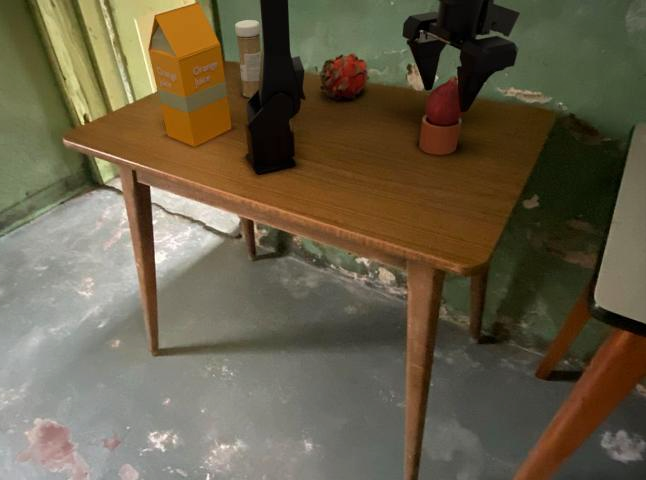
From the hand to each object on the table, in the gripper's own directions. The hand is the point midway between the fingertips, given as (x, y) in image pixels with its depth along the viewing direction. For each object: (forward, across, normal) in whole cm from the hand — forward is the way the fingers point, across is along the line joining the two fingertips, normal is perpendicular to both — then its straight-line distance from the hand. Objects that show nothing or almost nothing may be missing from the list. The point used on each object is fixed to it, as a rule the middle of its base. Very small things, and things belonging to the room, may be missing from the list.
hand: (445, 100), depth 74 cm
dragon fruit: (+8, +26, +4) cm, 27 cm away
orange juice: (+8, +23, +34) cm, 42 cm away
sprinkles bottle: (+8, +35, +20) cm, 41 cm away
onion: (+5, 0, 0) cm, 5 cm away
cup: (+8, 0, 0) cm, 8 cm away
